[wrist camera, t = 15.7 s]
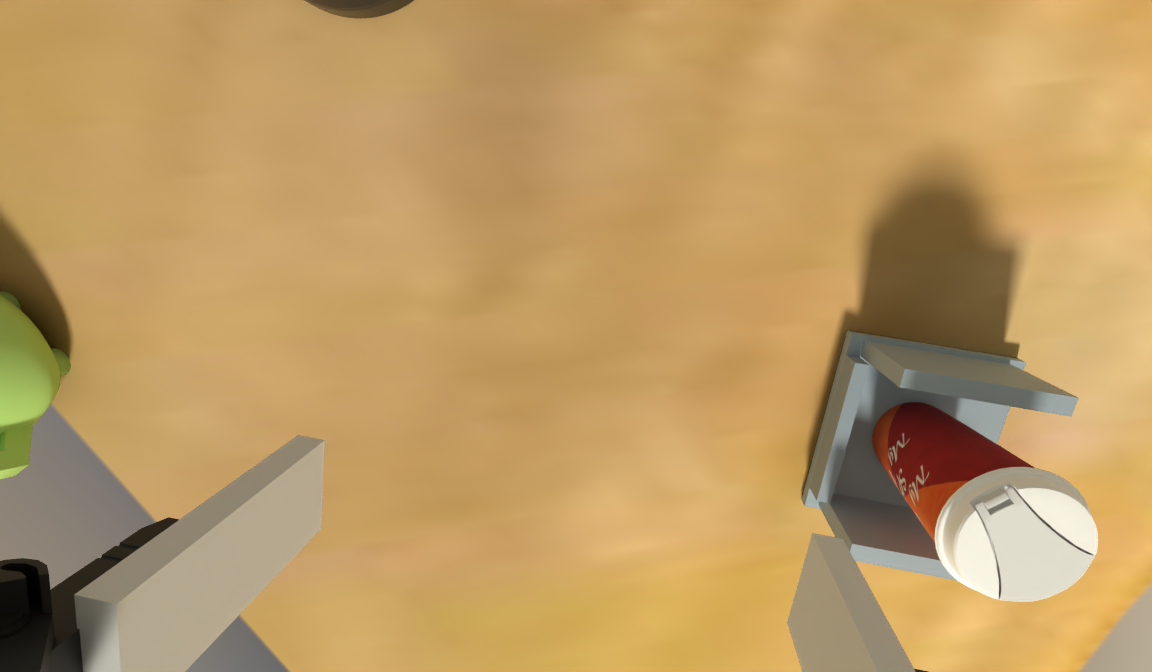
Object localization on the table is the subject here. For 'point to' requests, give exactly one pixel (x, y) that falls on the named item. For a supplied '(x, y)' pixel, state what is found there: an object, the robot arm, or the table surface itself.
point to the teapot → (23, 382)
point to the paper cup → (986, 506)
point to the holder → (875, 385)
